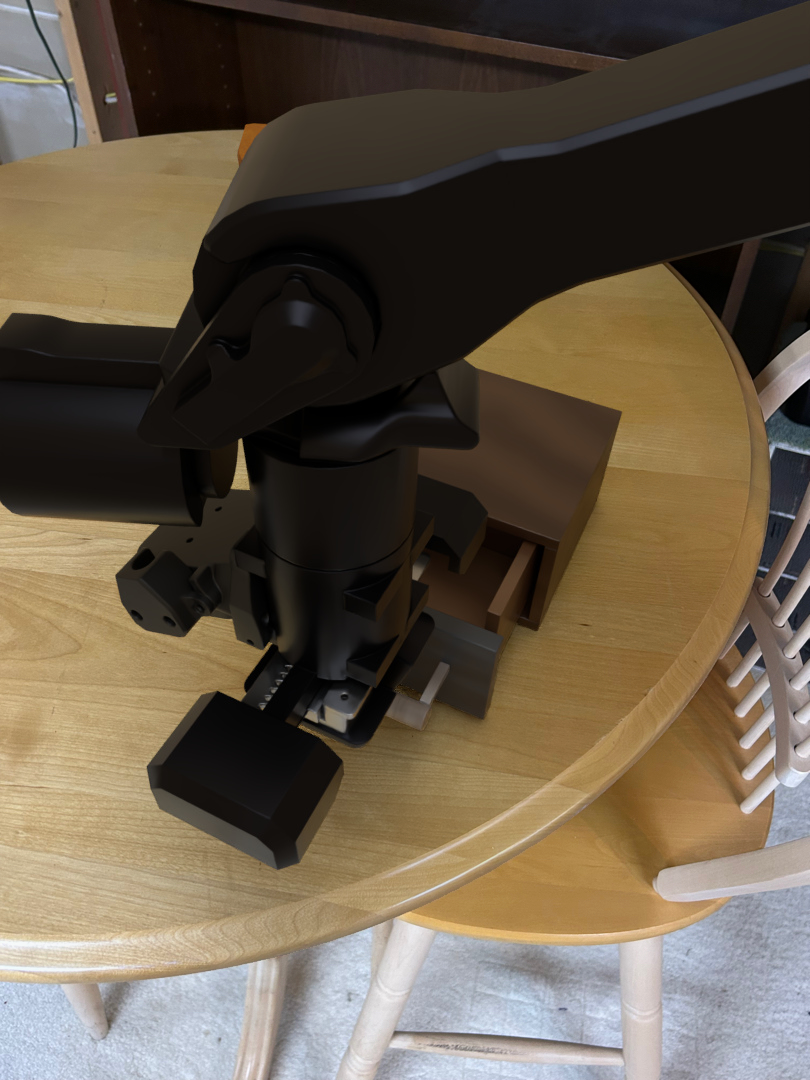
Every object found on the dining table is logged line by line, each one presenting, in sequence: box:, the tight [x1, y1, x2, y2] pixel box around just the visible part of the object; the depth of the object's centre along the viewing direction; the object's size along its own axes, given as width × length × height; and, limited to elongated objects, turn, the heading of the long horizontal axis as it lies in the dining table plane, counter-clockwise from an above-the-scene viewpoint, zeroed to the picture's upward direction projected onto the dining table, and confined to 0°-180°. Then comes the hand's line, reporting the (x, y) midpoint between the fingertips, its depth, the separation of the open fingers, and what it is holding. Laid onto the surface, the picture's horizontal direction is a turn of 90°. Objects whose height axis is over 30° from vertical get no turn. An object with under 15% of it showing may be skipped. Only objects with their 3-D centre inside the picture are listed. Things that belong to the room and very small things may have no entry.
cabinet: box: [418, 367, 623, 632], centre depth 55 cm, size 14×12×9 cm
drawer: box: [384, 525, 545, 732], centre depth 48 cm, size 17×10×7 cm, turn 154°
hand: (346, 733), depth 40 cm, fingers closed
